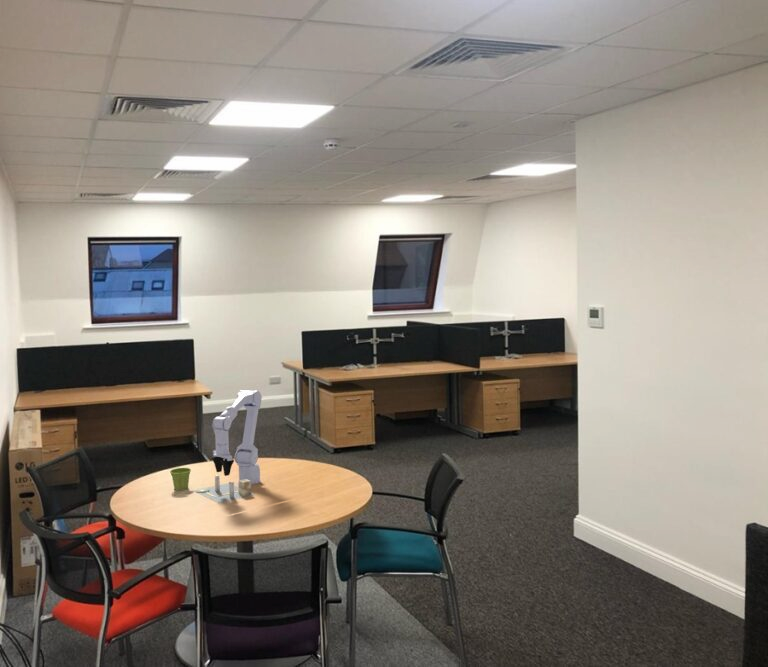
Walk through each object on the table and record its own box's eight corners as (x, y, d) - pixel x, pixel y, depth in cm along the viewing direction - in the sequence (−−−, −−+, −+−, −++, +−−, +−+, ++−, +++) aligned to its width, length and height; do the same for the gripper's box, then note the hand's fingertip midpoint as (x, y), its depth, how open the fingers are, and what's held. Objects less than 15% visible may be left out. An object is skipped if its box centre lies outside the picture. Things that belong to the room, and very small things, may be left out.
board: (228, 484, 342) (228, 468, 342) (255, 496, 324) (255, 479, 323) (193, 491, 331) (192, 475, 330) (218, 504, 312) (218, 487, 311)
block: (246, 492, 328) (246, 479, 327) (251, 494, 324) (250, 480, 324) (238, 493, 325) (238, 480, 324) (243, 495, 322) (242, 482, 321)
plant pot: (175, 493, 329) (175, 474, 329) (167, 488, 337) (166, 470, 336) (195, 489, 335) (194, 470, 335) (186, 484, 343) (185, 466, 342)
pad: (205, 488, 334) (205, 487, 334) (211, 491, 330) (211, 490, 330) (193, 490, 330) (193, 489, 330) (199, 493, 326) (199, 492, 326)
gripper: (206, 442, 326) (207, 471, 327) (221, 448, 315) (222, 478, 316) (220, 439, 331) (221, 469, 332) (236, 445, 319) (236, 475, 321)
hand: (223, 473), depth 324 cm, fingers open, 7 cm apart
